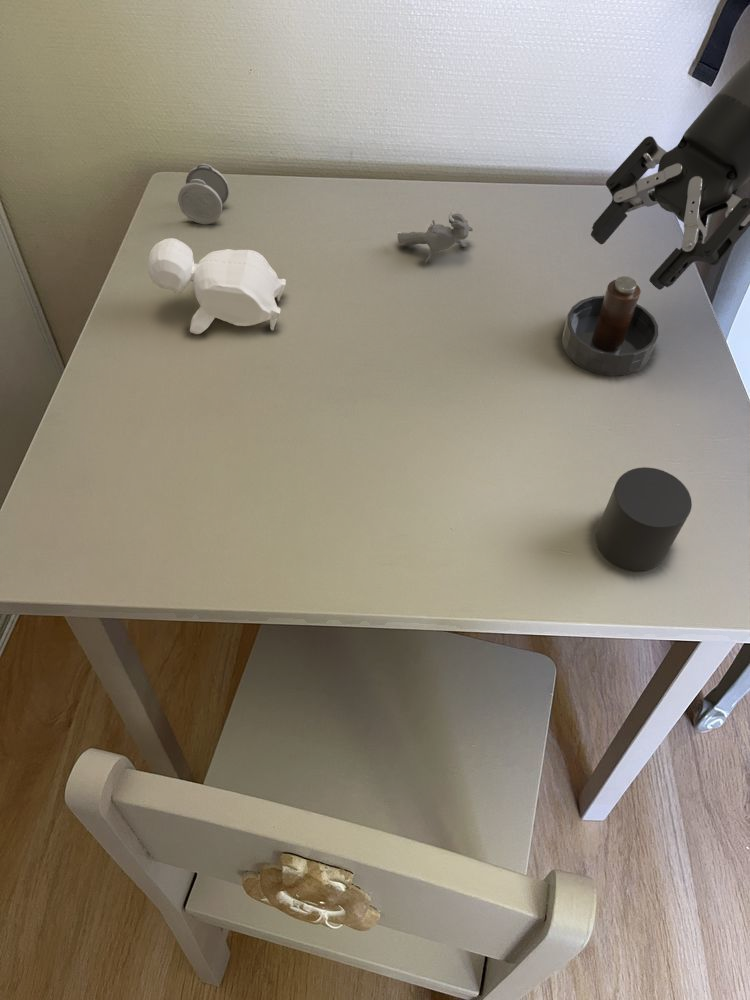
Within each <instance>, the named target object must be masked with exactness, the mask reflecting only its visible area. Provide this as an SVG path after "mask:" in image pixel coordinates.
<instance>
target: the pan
mask: <svg viewBox="0 0 750 1000" xmlns="http://www.w3.org/2000/svg"><path fill="white" fill-rule="evenodd" d="M604 297H605V295H598V296H597V295H596V296H595V295H594V296H591V297H587V298H584V299H582V300H580V301H578V302H577V303H576V304H574V305H572V307H571V309H570V310H569V312H568V313H567V316H566V320H565V323H564V329H563V332H562V338H561V343H562V348H563V350H564V353H565V354H566V356H567V357H568V358H569V359H570V360H571V361H572V362H573V363H574V364H576V365H577V366H579V367H580V368H582V369H584V370H586V371H588V372H591V373H593V374H596V375H601V376H609V377H621V376H628V375H631V374H633V373H636V372H638V371H639V370H641V369H642V368H644V367H645V366H646V365H647V363H648V362H649V360H650V358H651V356H652V353H653V352H654V348H655V345H656V344H657V340H658V339H659V336H660V335H659V325H658V322H657V321H656V320H655V318H654V315H652V314H651V313H650V312H649V311H648V310H647V309H646V308H645V307H643V306H642V305H640V304H638V303H637V305H636V307H635V310H634V313H633V316H632V319H631V322H630V325H629V328H628V331H627V334H626V336H625V339H624V342H623V345H622V347H621V348H620V349H619V350H617V351H613V352H608V351H603V350H600V349H598V348H597V347H596V346H595V345H594V344H593V342H592V337H593V333H594V330H595V327H596V323H597V320H598V317H599V313H600V310H601V307H602V303H603V300H604Z"/></svg>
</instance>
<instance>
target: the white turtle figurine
mask: <svg viewBox="0 0 750 1000" xmlns="http://www.w3.org/2000/svg"><path fill="white" fill-rule="evenodd" d="M149 252H150V253H149V257H148V261H147V273H148V276H149V277H150V279H151V281H152V283H153V284H154V285H156V286H157V287H158V288H160V289H164V290H169V291H172V292H173V293H176V294H180V293H182V292H183V291H184V290H185V289H186V288H187V286H188V285H189V284H190V283H191V282H192V285H193V292H194V297H195V298H196V300H197V302H198V304H199V307H198V309H197V310H196V312H195V313H194V314H193V315H192V318H191V321H190V327H189V332H190V333H191V334H194V335H201V334H202V333H203V332H205V331H206V330H207V329H208V328H209V327H210V326H211V324H212V323H213V321H214V320H215V319H219V320H222V321H223V322H227V323H228V324H233V325H234V326H238V327H241V326H243V327H247V326H248V327H250V326H255V325H257V324H262V323H265V322H267V321H270V322H269V325H270V327H269V328H270V330H271V331H274V329H275V326H276V324H277V321H278V318H279V315H280V313H281V311H282V310H281V308H280V307H279V306H278V305H277V302H278V303H279V302H280V300H281V297H282V295H283V292H284V290H285V288H286V284H287V280H286V279H285V278H279V277H278V274H277V273H276V271H275V270H274V269H273V268H272V267H271V265H270V264H269V262H268V261H267V259H266V258H265V257H264V256H263V255H262V254H261V253H259V252H258V251H255V250H252V249H232V248H227V249H221V250H213V251H210V252H208V253H207V254H206V255H204V256H203V257H202V258H201V259H199V262H198V263H195V262H194V254H193V250H192V248H191V247H190V246H189V245H188V244H186V243H185V242H183V241H181V240H179V239H177V238H175V237H169V238H164V239H163V240H161V241H158V242H157V243H156V244H154V245H153V247H152V248H151V250H150V251H149ZM275 298H276V299H275ZM276 301H277V302H276Z"/></svg>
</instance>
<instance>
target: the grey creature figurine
mask: <svg viewBox="0 0 750 1000" xmlns="http://www.w3.org/2000/svg"><path fill="white" fill-rule="evenodd" d="M454 209H455V208H452V210H451V211H450V213H449V214H448V223H449V224H450V226H445V225H444V224H438V223H437V224H436V222H435V219H433V220H432V221H431V222H432V223H430V225H429V226H428V227H427V230H426V232H423V231H410V232H402V231H397V242H398V244H399V245H402V244H403V246H404V247H411V246H416V245H427V246H428V248H429V255H428V257H427V259H426V260H425V261H424V264H426V263H427V262H428V261H429V260H430V259H431V258H432V256H433V255H435V254H436V253H437V252H440V251H441V252H442V251H445V250H448V249H449V248H451V247H452V246H454V245H456V244H458V245H459V246H460V247H464V248H466V247H467V245H468V242H467V240H465V239H467V238H468V237H469V232H473V231H474V230H473V227H472V226H470V225H469V222H468V220H467V219H465V217H464V216H463V214H461V213H459V211H457V212H456V213H453V212H454Z"/></svg>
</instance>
